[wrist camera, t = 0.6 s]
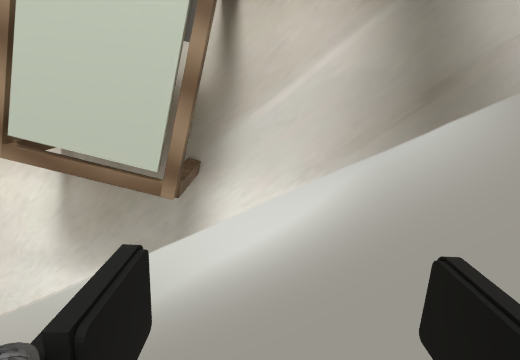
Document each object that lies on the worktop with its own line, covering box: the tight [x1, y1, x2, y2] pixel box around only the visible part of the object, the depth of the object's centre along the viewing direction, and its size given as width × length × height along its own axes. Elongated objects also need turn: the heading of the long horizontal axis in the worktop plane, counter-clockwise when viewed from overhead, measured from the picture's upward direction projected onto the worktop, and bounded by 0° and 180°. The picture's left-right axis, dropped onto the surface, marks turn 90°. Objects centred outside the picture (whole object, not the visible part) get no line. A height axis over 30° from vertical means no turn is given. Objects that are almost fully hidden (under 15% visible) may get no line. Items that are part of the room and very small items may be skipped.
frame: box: [0, 0, 217, 200], centre depth 31 cm, size 22×17×11 cm
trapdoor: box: [8, 0, 198, 172], centre depth 28 cm, size 15×13×5 cm
